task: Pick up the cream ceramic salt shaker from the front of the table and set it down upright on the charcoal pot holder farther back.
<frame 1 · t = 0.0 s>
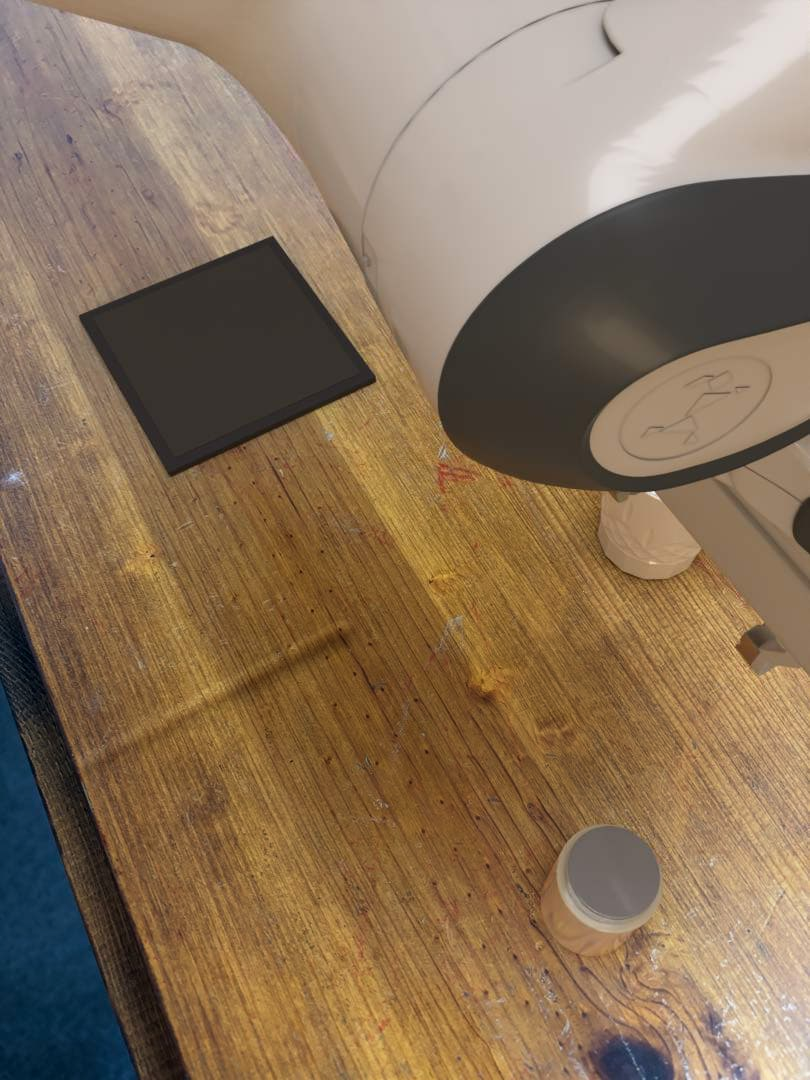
hand: (687, 566, 45), 20 cm above the table, tool pointing down, fingers open, 8 cm apart
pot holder: (225, 350, 77), on the table
salt shaker: (587, 905, 58), on the table
smartphone: (613, 374, 76), on the table
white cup: (647, 537, 70), on the table
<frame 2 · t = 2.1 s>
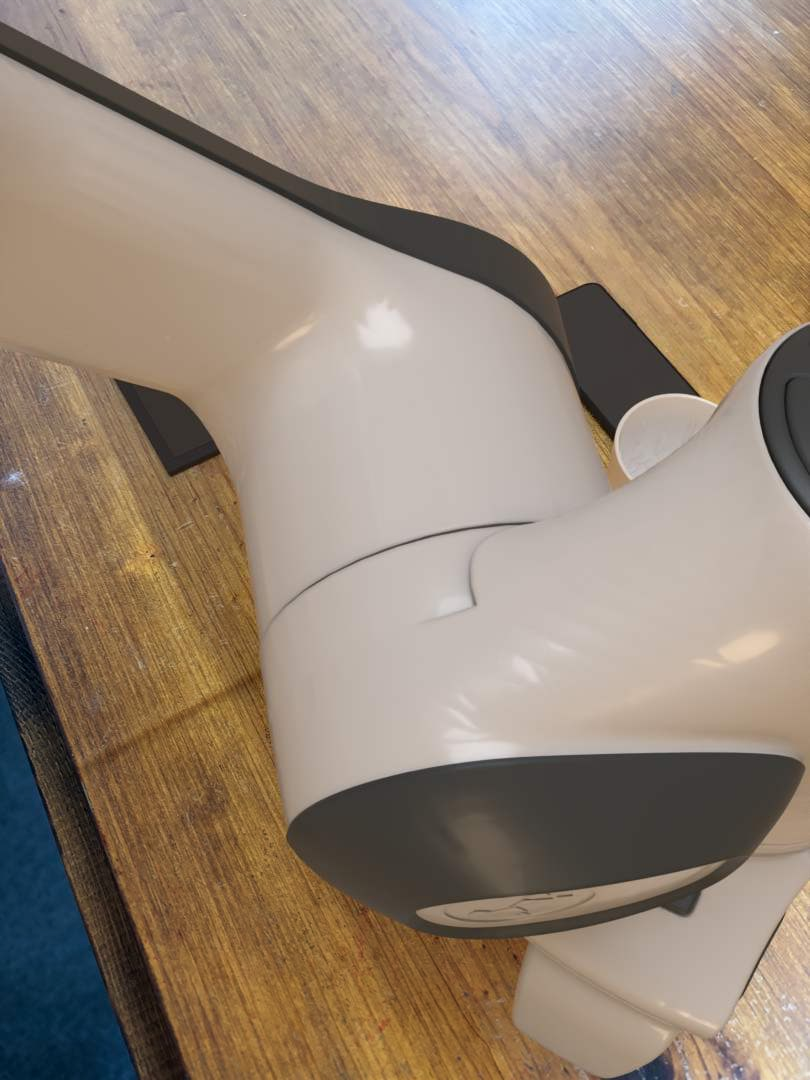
hand: (640, 837, 46), 14 cm above the table, tool pointing down, fingers open, 8 cm apart
nothing on the table moved.
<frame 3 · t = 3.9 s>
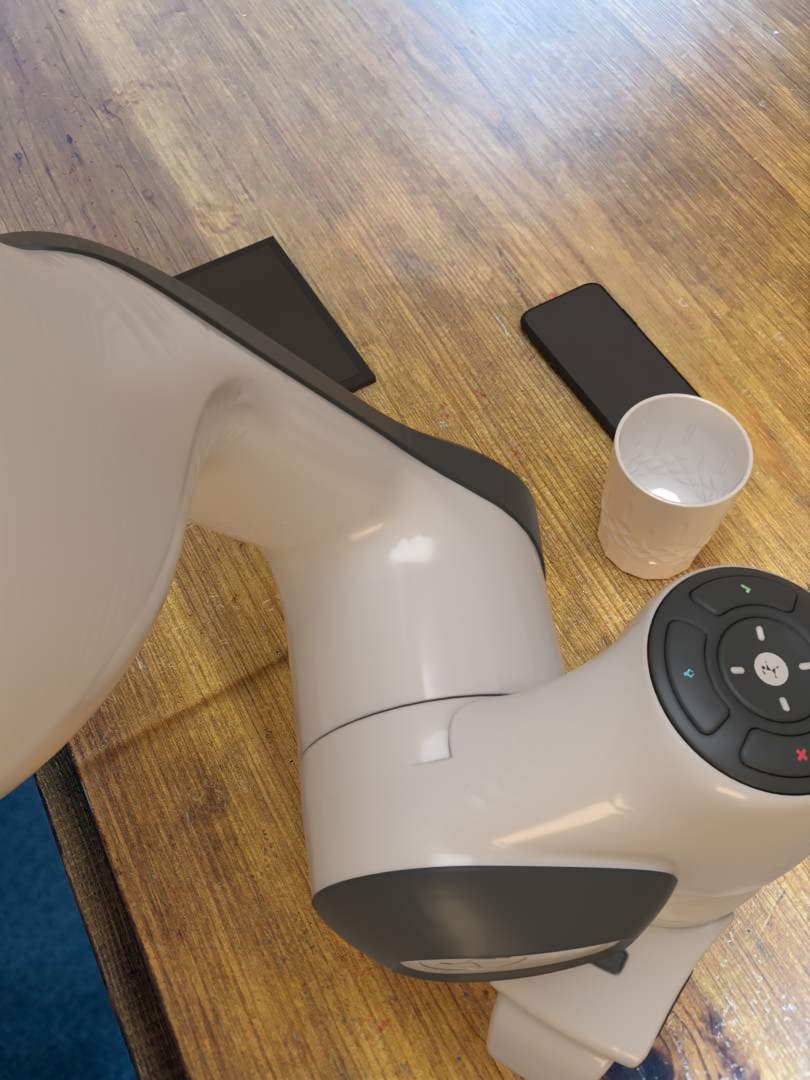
hand: (596, 894, 55), 3 cm above the table, tool pointing down, fingers closed on salt shaker, 5 cm apart
salt shaker: (588, 905, 58), on the table, touching gripper
everything else where it was.
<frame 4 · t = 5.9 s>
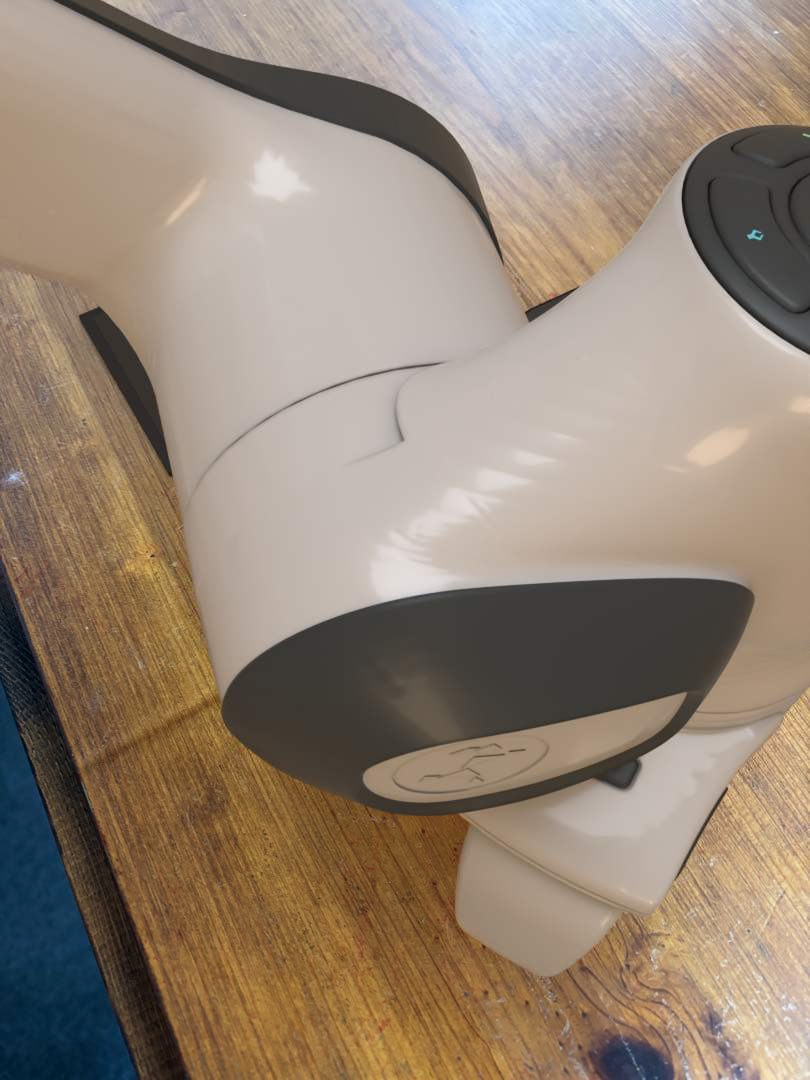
hand: (597, 757, 45), 16 cm above the table, tool pointing down, fingers closed on salt shaker, 5 cm apart
salt shaker: (586, 779, 48), point 13 cm above the table, touching gripper
everything else where it was.
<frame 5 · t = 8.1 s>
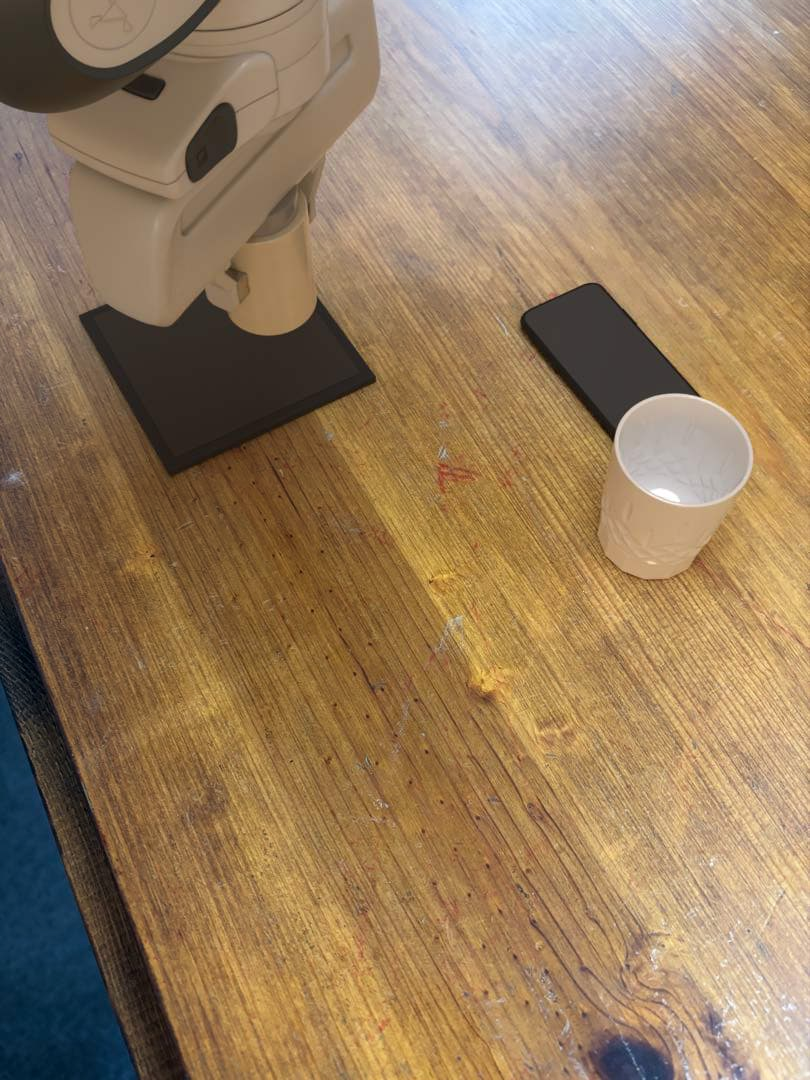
hand: (263, 261, 58), 17 cm above the table, tool pointing down, fingers closed on salt shaker, 5 cm apart
salt shaker: (271, 300, 60), point 14 cm above the table, touching gripper
everything else where it was.
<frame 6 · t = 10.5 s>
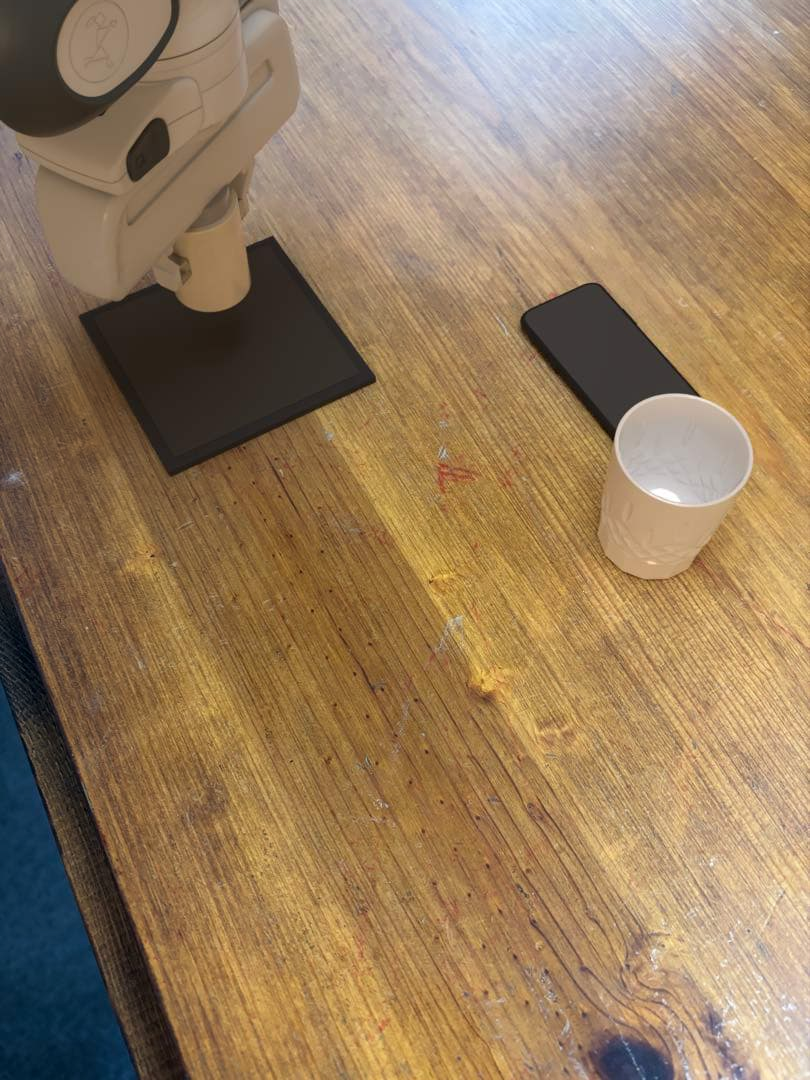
hand: (204, 249, 68), 10 cm above the table, tool pointing down, fingers closed on salt shaker, 5 cm apart
salt shaker: (212, 283, 71), point 7 cm above the table, touching gripper
everything else where it was.
when the fingers open (4 cm above the table, at t = 12.4 s): salt shaker stays where it is, resting on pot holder.
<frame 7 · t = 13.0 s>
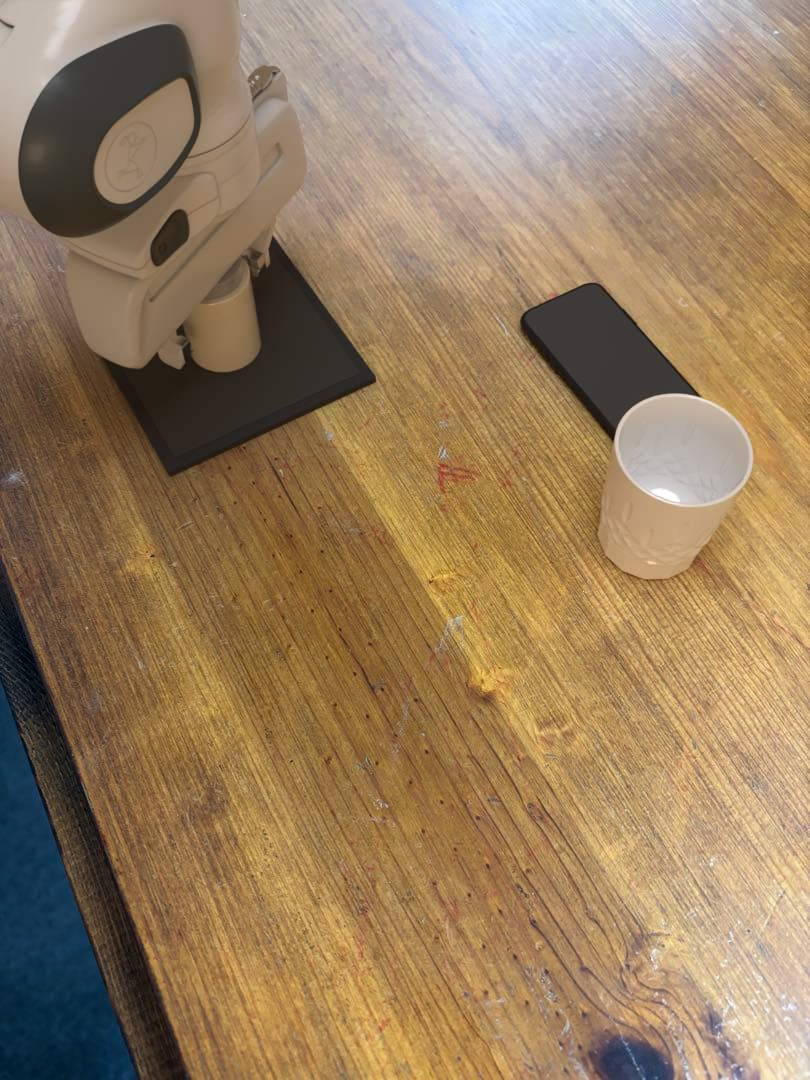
hand: (217, 312, 73), 4 cm above the table, tool pointing down, fingers open, 8 cm apart
salt shaker: (225, 344, 76), point 1 cm above the table, touching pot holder
everything else where it was.
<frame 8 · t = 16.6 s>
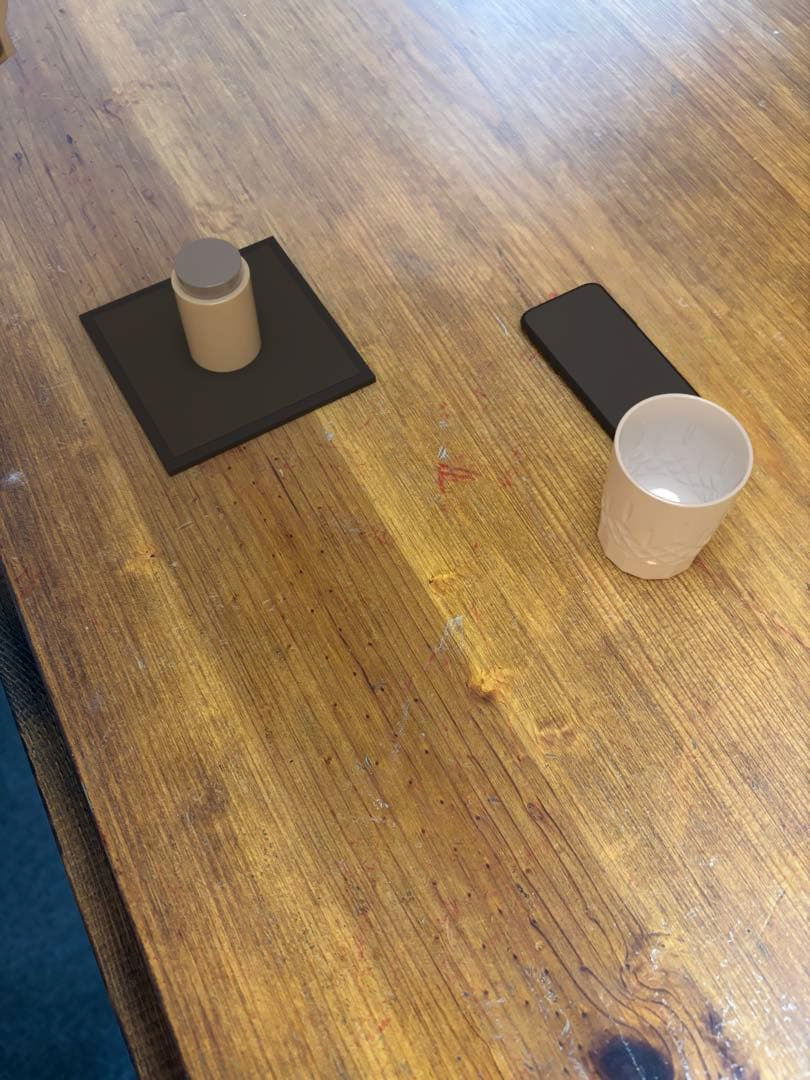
nothing on the table moved.
at the end: salt shaker inside the target area on the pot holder (0.1 cm from its centre), point 0.7 cm above the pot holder's base; salt shaker tilted 0°; the gripper is holding nothing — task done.
